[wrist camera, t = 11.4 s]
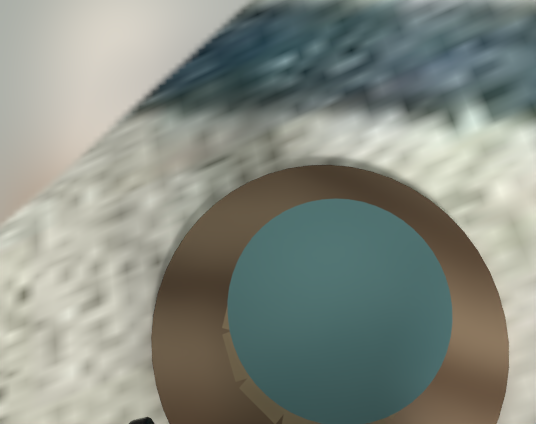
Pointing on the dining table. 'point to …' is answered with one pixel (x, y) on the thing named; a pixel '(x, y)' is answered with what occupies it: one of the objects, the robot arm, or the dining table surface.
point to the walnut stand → (216, 306)
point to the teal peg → (339, 312)
